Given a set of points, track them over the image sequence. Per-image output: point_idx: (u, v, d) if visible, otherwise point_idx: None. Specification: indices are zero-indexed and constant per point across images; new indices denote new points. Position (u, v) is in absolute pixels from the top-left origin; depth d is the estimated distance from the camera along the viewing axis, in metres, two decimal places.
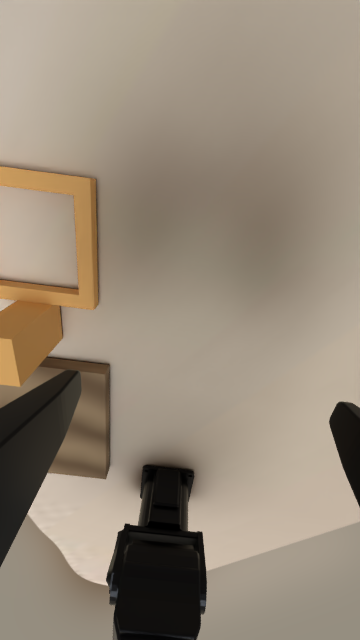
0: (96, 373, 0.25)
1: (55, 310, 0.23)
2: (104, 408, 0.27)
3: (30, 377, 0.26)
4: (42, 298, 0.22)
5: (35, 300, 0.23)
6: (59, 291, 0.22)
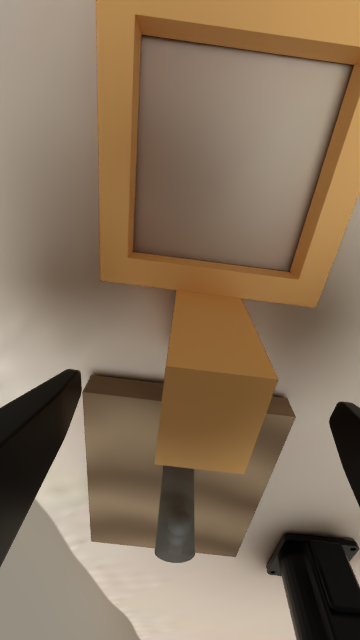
0: (280, 415, 0.15)
1: None
2: (272, 467, 0.17)
3: None
4: (225, 286, 0.12)
5: (210, 289, 0.12)
6: (257, 272, 0.12)
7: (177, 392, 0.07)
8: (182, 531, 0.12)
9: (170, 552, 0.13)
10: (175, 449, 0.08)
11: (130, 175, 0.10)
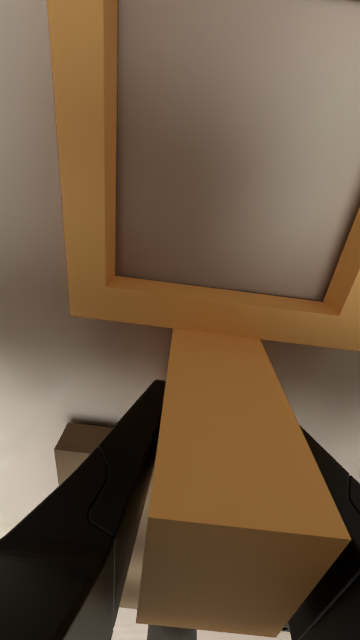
0: None
1: None
2: None
3: None
4: (239, 323, 0.09)
5: (219, 328, 0.09)
6: (282, 305, 0.09)
7: (169, 549, 0.04)
8: None
9: None
10: (168, 610, 0.05)
11: (105, 173, 0.07)
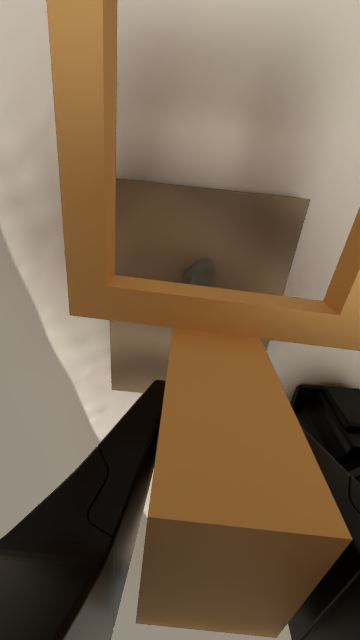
0: (296, 198, 0.16)
1: None
2: (287, 271, 0.18)
3: (184, 213, 0.16)
4: (239, 322, 0.09)
5: (219, 327, 0.09)
6: (282, 304, 0.09)
7: (169, 550, 0.04)
8: (207, 268, 0.13)
9: None
10: (168, 610, 0.05)
11: (105, 172, 0.07)
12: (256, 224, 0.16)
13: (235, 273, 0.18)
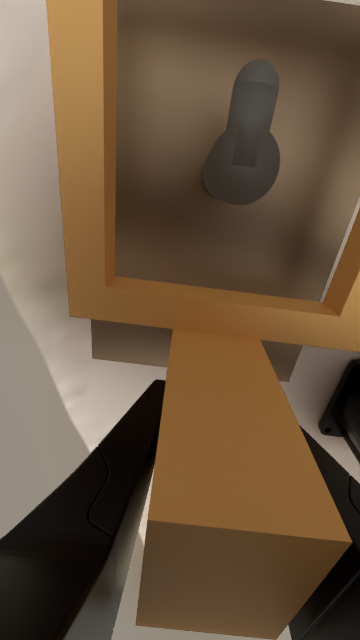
0: None
1: None
2: None
3: (211, 43, 0.10)
4: (239, 324, 0.09)
5: (219, 328, 0.09)
6: (282, 305, 0.09)
7: (169, 551, 0.04)
8: (267, 74, 0.07)
9: (236, 165, 0.07)
10: (168, 612, 0.05)
11: (105, 173, 0.07)
12: (330, 68, 0.10)
13: (286, 165, 0.11)
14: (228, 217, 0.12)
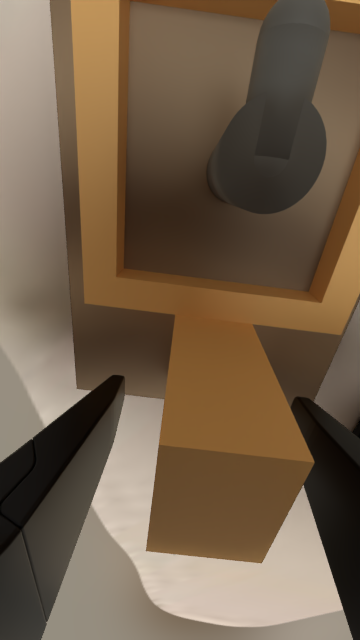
0: None
1: None
2: None
3: None
4: (233, 310, 0.10)
5: (216, 314, 0.10)
6: (271, 293, 0.10)
7: (175, 474, 0.05)
8: (315, 11, 0.04)
9: (261, 156, 0.05)
10: (173, 536, 0.06)
11: (118, 178, 0.08)
12: None
13: None
14: (239, 225, 0.10)
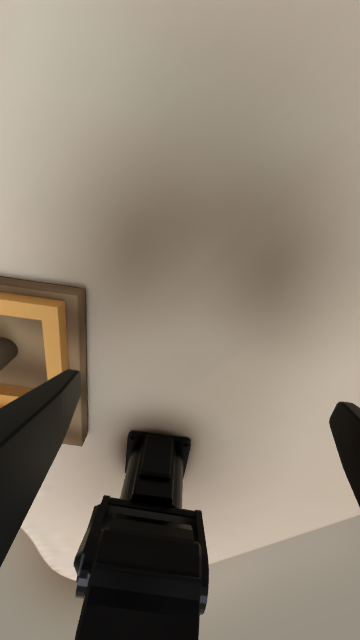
0: (66, 294, 0.19)
1: None
2: (78, 346, 0.21)
3: None
4: None
5: None
6: None
7: None
8: None
9: None
10: None
11: None
12: None
13: (36, 346, 0.21)
14: (14, 366, 0.22)
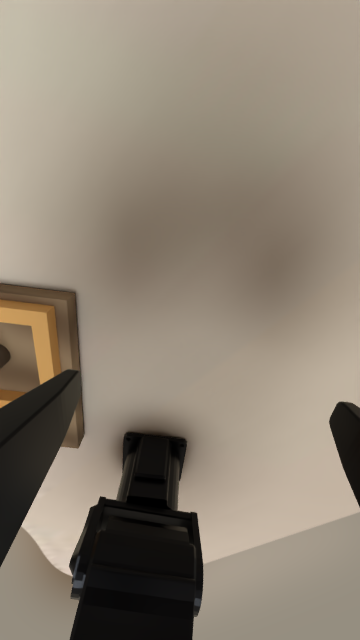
0: (55, 299, 0.19)
1: None
2: (69, 350, 0.21)
3: None
4: None
5: None
6: None
7: None
8: None
9: None
10: None
11: None
12: None
13: (28, 350, 0.21)
14: (7, 370, 0.22)
